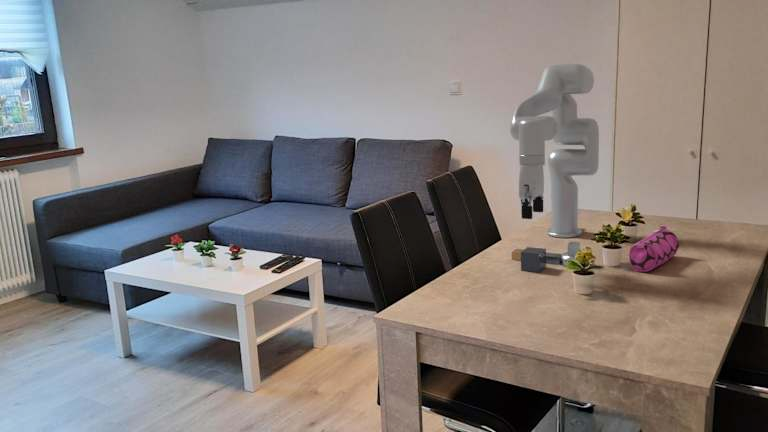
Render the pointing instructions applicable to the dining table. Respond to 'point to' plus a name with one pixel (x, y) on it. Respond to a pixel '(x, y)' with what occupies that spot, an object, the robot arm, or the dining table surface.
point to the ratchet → (554, 254)
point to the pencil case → (653, 250)
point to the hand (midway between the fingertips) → (532, 215)
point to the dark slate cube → (533, 259)
